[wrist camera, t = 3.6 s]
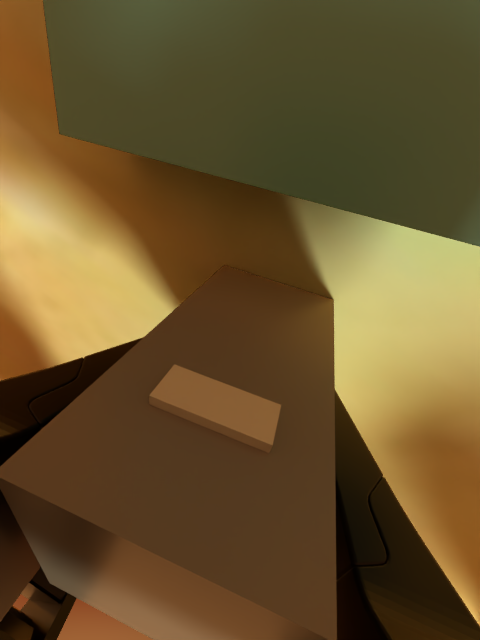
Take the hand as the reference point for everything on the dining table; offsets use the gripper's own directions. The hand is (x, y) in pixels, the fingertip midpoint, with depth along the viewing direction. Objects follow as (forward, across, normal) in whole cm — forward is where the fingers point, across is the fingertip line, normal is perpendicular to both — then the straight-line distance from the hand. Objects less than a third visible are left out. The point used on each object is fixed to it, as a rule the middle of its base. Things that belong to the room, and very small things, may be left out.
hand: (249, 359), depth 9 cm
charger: (+2, 0, 0) cm, 2 cm away
